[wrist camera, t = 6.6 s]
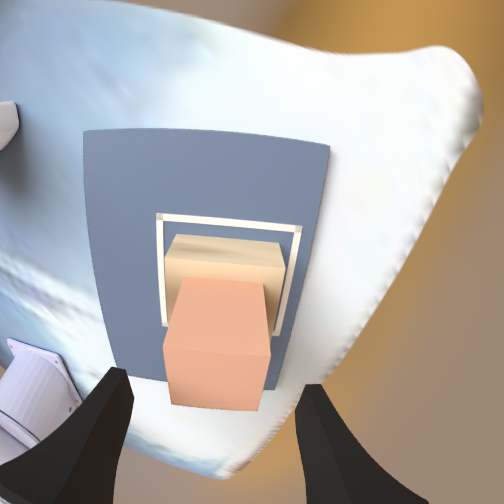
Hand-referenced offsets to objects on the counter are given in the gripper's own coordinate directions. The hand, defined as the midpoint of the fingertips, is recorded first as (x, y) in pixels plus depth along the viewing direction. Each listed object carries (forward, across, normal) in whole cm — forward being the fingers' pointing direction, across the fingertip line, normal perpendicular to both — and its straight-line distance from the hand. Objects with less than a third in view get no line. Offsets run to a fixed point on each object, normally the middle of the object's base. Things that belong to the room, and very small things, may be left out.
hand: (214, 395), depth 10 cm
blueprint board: (+9, +2, +1) cm, 10 cm away
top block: (+6, 0, 0) cm, 6 cm away
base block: (+8, 0, 0) cm, 8 cm away
